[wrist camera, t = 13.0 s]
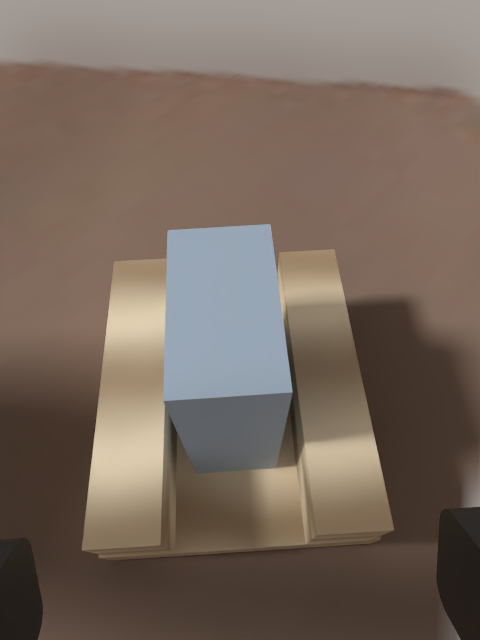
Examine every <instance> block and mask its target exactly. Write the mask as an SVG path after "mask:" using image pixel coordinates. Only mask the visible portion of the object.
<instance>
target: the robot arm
mask: <svg viewBox="0 0 480 640" xmlns="http://www.w3.org/2000/svg"><path fill="white" fill-rule="evenodd" d="M437 585H438V590H439V594H440V598H441V601H442V604H443V606H444V609H445V611H446V613H447V615H448V617H449V619H450V620H451V622H452V624H453V626H454V628H455V630H456V631H457V633H458V635H459V637H460V639H461V640H480V507H472V508H458V509H445V510H443V511H442V513H441V515H440V523H439V540H438V558H437ZM42 614H43V606H42V599H41V594H40V589H39V584H38V579H37V574H36V568H35V563H34V558H33V553H32V548H31V545H30V542H29V541H28V540H27V539H25V538H20V539H6V540H0V640H37V639H38V636H39V633H40V629H41V623H42Z"/></svg>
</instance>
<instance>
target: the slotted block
mask: <svg viewBox="0 0 480 640" xmlns="http://www.w3.org/2000/svg"><path fill="white" fill-rule="evenodd" d="M166 275H167V259H151V260H133V261H115V262H114V268H113V277H112V286H111V295H110V303H109V312H108V321H107V330H106V339H105V348H104V356H103V365H102V374H101V383H100V392H99V401H98V409H97V418H96V427H95V436H94V445H93V454H92V462H91V471H90V480H89V489H88V498H87V507H86V515H85V524H84V533H83V542H82V551H86V552H90V553H94V554H98V555H99V558H101V559H106V560H125V559H140V558H155V557H171V556H186V555H201V554H217V553H232V552H248V551H263V550H278V549H294V548H309V547H324V546H340V545H355V544H371V543H374V542H376V541H379V540H381V536H382V535H384V534H387V533H389V532H392V531H394V526H393V521H392V516H391V512H390V507H389V502H388V498H387V493H386V488H385V484H384V479H383V474H382V470H381V465H380V460H379V456H378V451H377V446H376V442H375V437H374V432H373V428H372V423H371V418H370V414H369V409H368V404H367V400H366V395H365V391H364V386H363V381H362V377H361V372H360V367H359V363H358V358H357V353H356V349H355V344H354V339H353V335H352V330H351V325H350V321H349V316H348V311H347V307H346V302H345V297H344V293H343V288H342V283H341V279H340V274H339V269H338V265H337V260H336V255H335V251H334V249H331V250H313V251H295V252H279V264H278V275H277V278H278V286H279V293H280V301H281V308H282V316H283V323H284V331H285V338H286V346H287V353H288V361H289V368H290V376H291V383H292V391H293V393H292V398H291V403H290V407H289V412H288V416H287V421H286V425H285V430H284V434H283V439H282V444H281V448H280V453H279V457H278V462H277V466H276V468H271V469H257V470H243V471H228V472H214V473H200V474H196V472H195V470H194V468H193V466H192V463H191V461H190V459H189V457H188V455H187V452H186V450H185V448H184V446H183V444H182V441H181V439H180V437H179V435H178V433H177V430H176V428H175V426H174V424H173V422H172V419H171V417H170V415H169V413H168V411H167V408H166V406H165V404H164V402H163V388H164V350H165V312H166Z"/></svg>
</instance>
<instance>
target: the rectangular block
mask: <svg viewBox="0 0 480 640" xmlns="http://www.w3.org/2000/svg"><path fill="white" fill-rule="evenodd" d="M292 393H293V391H292V383H291V376H290V368H289V361H288V353H287V346H286V338H285V331H284V323H283V316H282V308H281V301H280V293H279V286H278V278H277V271H276V263H275V256H274V248H273V241H272V233H271V226H270V224H265V225H249V226H232V227H216V228H199V229H182V230H168V237H167V275H166V312H165V350H164V388H163V402H164V404H165V406H166V408H167V411H168V413H169V415H170V417H171V419H172V422H173V424H174V426H175V428H176V430H177V433H178V435H179V437H180V439H181V441H182V444H183V446H184V448H185V450H186V452H187V455H188V457H189V459H190V461H191V463H192V466H193V468H194V470H195V472H196V474H200V473H214V472H228V471H243V470H257V469H271V468H276V466H277V462H278V457H279V453H280V448H281V444H282V439H283V434H284V430H285V425H286V421H287V416H288V412H289V407H290V403H291V398H292Z"/></svg>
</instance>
